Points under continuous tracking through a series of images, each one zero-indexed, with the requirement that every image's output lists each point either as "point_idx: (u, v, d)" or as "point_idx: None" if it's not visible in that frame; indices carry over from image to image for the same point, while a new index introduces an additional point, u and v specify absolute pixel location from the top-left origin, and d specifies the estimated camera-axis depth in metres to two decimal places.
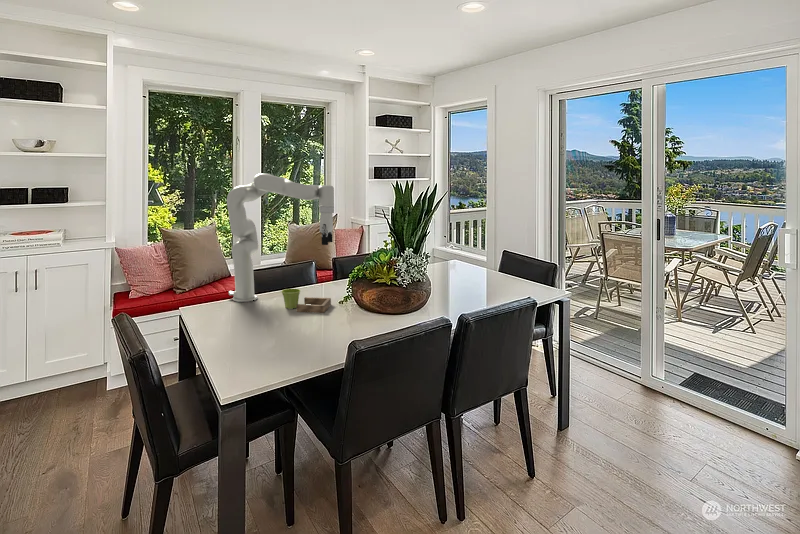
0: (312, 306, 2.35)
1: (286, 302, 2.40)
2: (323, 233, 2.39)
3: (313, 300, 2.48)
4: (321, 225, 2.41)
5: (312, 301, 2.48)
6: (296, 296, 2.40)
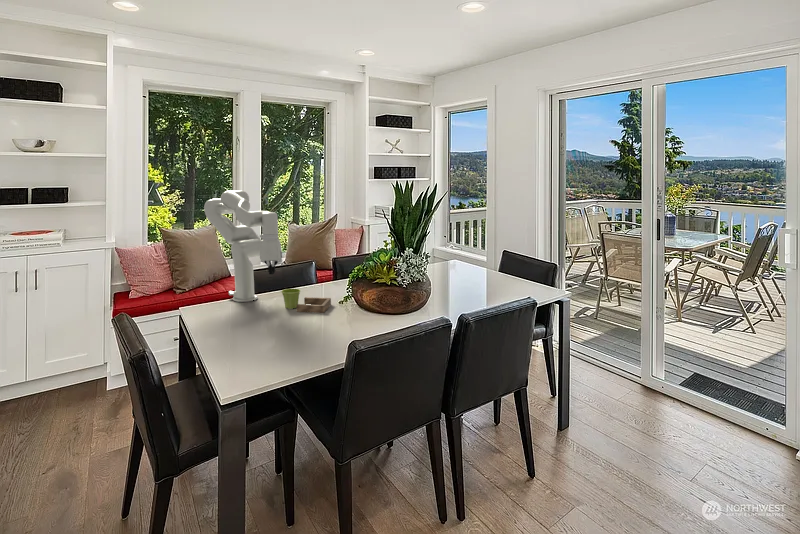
0: (312, 306, 2.35)
1: (286, 302, 2.40)
2: None
3: (313, 300, 2.48)
4: (279, 252, 2.37)
5: (312, 301, 2.48)
6: (296, 296, 2.40)
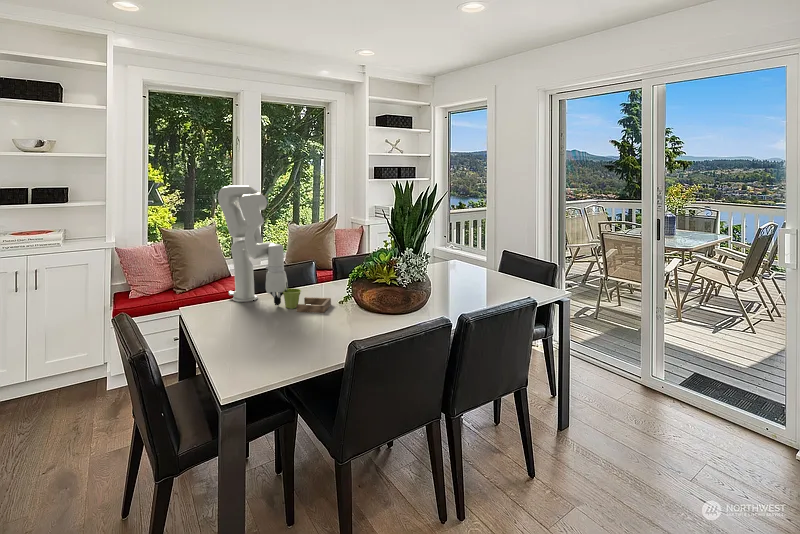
0: (312, 306, 2.35)
1: (286, 302, 2.40)
2: None
3: (313, 300, 2.48)
4: (285, 284, 2.40)
5: (312, 301, 2.48)
6: (297, 296, 2.40)
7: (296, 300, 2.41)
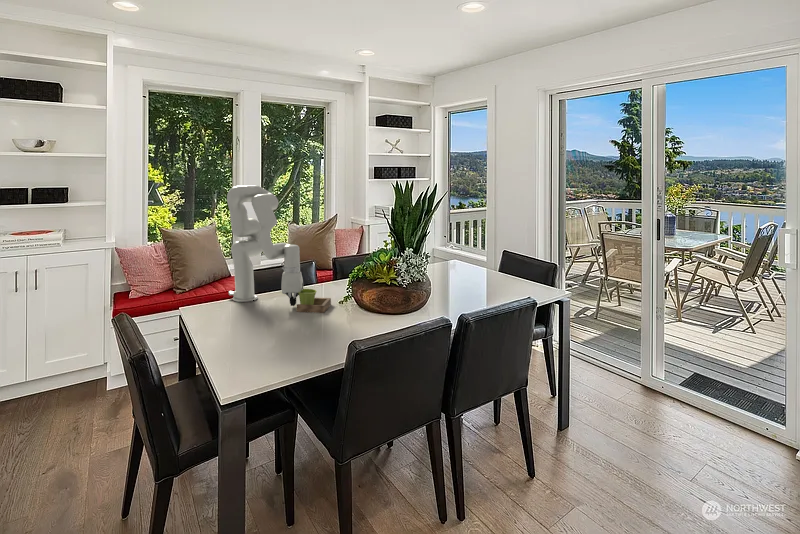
0: (312, 306, 2.35)
1: (302, 302, 2.39)
2: None
3: None
4: (301, 285, 2.39)
5: None
6: (312, 297, 2.39)
7: (311, 301, 2.40)
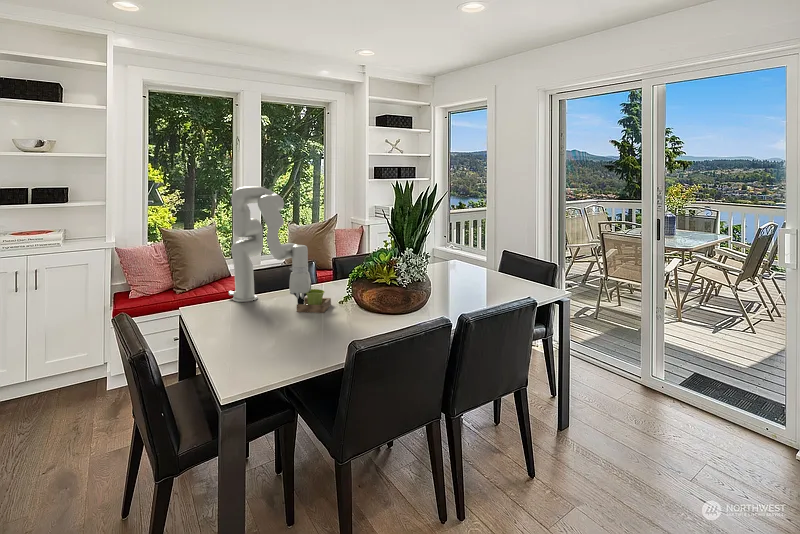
0: (312, 306, 2.35)
1: (310, 302, 2.39)
2: None
3: None
4: (309, 285, 2.39)
5: None
6: (320, 297, 2.39)
7: (319, 301, 2.40)
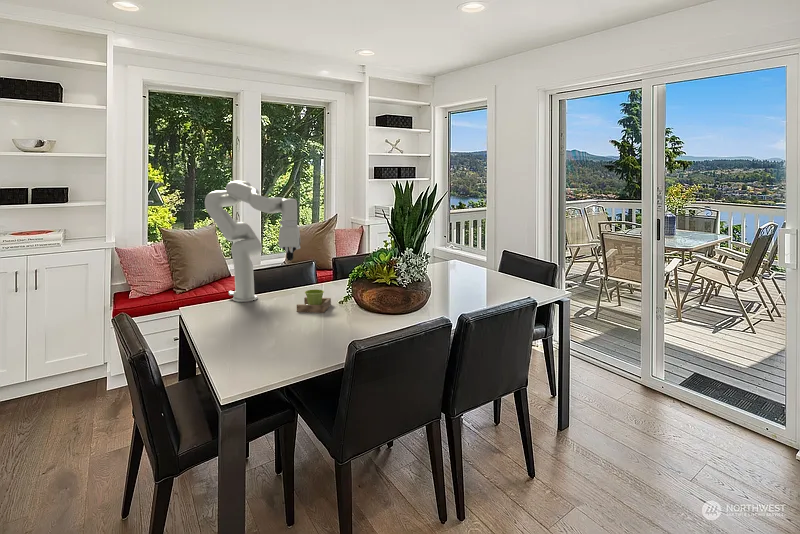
0: (312, 306, 2.35)
1: (309, 303, 2.39)
2: None
3: None
4: (298, 239, 2.39)
5: None
6: (319, 297, 2.39)
7: (319, 301, 2.40)
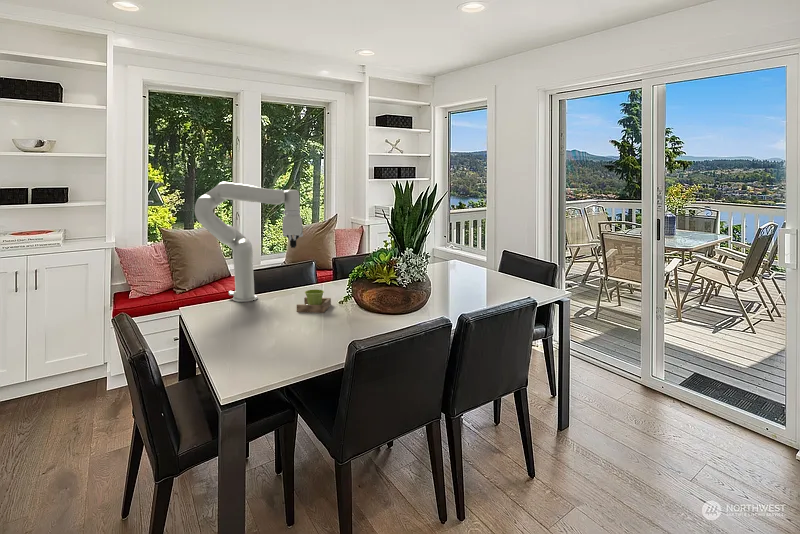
0: (312, 306, 2.35)
1: (309, 303, 2.39)
2: (298, 237, 2.59)
3: None
4: (301, 227, 2.56)
5: None
6: (319, 297, 2.39)
7: (319, 301, 2.40)
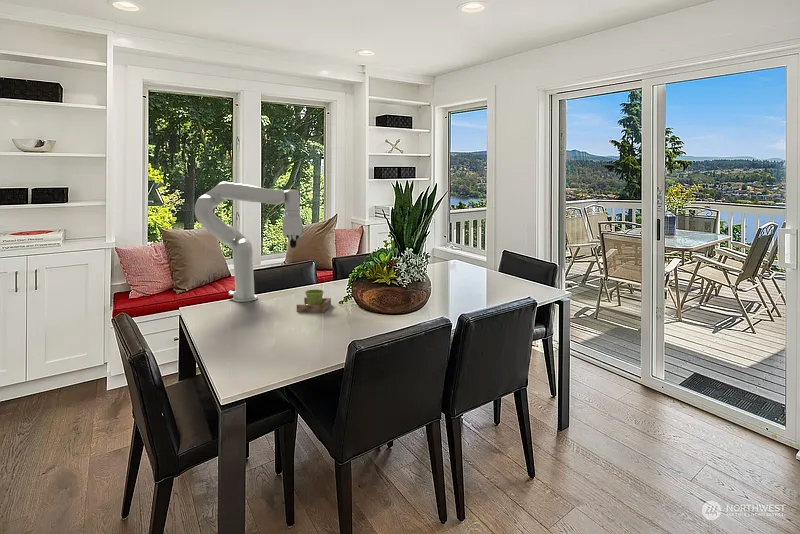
0: (312, 306, 2.35)
1: (309, 303, 2.39)
2: (298, 237, 2.59)
3: None
4: (301, 227, 2.56)
5: None
6: (319, 297, 2.39)
7: (319, 301, 2.40)
